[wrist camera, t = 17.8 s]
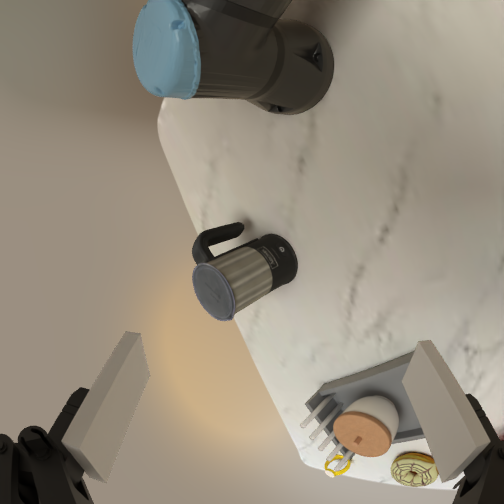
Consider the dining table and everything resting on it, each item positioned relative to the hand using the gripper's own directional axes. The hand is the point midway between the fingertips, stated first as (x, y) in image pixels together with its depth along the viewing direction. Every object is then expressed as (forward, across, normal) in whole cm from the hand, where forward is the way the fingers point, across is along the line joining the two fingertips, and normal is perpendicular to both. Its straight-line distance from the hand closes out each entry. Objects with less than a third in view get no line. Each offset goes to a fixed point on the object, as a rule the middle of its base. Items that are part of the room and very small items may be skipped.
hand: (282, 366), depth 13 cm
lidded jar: (+22, +21, -31) cm, 44 cm away
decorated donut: (+15, +33, -44) cm, 57 cm away
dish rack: (+22, +23, -30) cm, 43 cm away
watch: (+26, +21, -55) cm, 65 cm away
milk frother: (+41, -1, -13) cm, 43 cm away
